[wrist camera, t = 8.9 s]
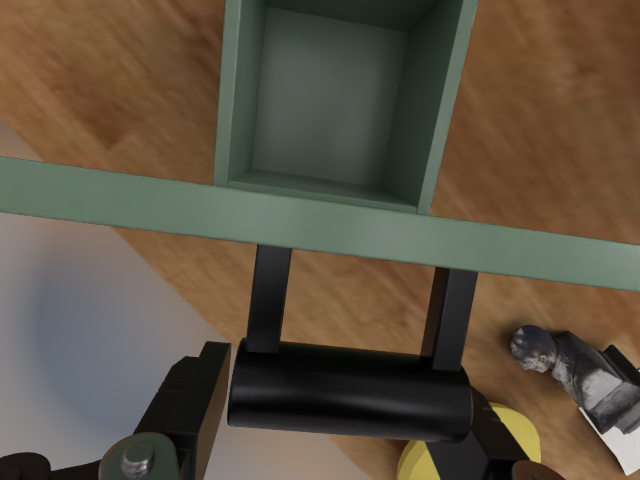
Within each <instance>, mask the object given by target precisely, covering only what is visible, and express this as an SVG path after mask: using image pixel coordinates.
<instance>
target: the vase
mask: <svg viewBox="0 0 640 480" xmlns="http://www.w3.org/2000/svg"><path fill="white" fill-rule="evenodd" d="M489 404H490V405H491V406H492V408H493V411H495V412H496V413H497V415H498V416H499V417H500V419H501V422H503V423H504V424H505V425H506V427H507V428H508V429H509V431H510V432H511V434H512V435H513V436H514V438H515V439H516V440H517V442H518V443H519V444H520V446H521V447H522V449H523V450H524V451H525V453H526V454H527V455H528V457H529V458H530V459H531V461H534V462H538V463H540V462H541V455H540V438H539V436H538V433H537V431H536V429H535V426H534V425H533V424H532V423H531V422H530V421H529V420H528V419H527V418H526V417H525V416H524V415H522V414H520V413H519V412H517V411H515V410H513V409H511V408H509V407H507V406H505V405H502V404H499V403H492V402H489ZM396 479H397V480H440V477H439V475H438V473H437V470H436V468H435V465H434V463H433V461H432V458H431V456H430V454H429V451H428V449H427V446H426V444H425V442H424V441H414V440H410V441H409V443H408V444H407V445H406V447H405V448H404V450H403V453H402V455H401V458H400V460H399V462H398V469H397V478H396Z"/></svg>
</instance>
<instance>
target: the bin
mask: <svg viewBox="0 0 640 480" xmlns="http://www.w3.org/2000/svg"><path fill="white" fill-rule="evenodd" d="M477 3H478V0H225V12H224V27H223V41H222V56H221V70H220V84H219V99H218V113H217V127H216V142H215V156H214V171H213V186H220V187H227V188H234V189H241V190H249V191H256V192H263V193H270V194H277V195H285V196H292V197H299V198H306V199H314V200H321V201H328V202H335V203H342V204H350V205H357V206H364V207H371V208H378V209H386V210H393V211H400V212H407V213H414V214H422V215H429V213H430V208H431V204H432V200H433V195H434V191H435V186H436V182H437V178H438V173H439V169H440V165H441V160H442V156H443V152H444V147H445V143H446V138H447V134H448V130H449V125H450V121H451V117H452V112H453V108H454V104H455V99H456V95H457V91H458V86H459V82H460V77H461V73H462V69H463V64H464V60H465V56H466V51H467V47H468V43H469V38H470V34H471V29H472V25H473V21H474V16H475V12H476V8H477Z"/></svg>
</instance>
